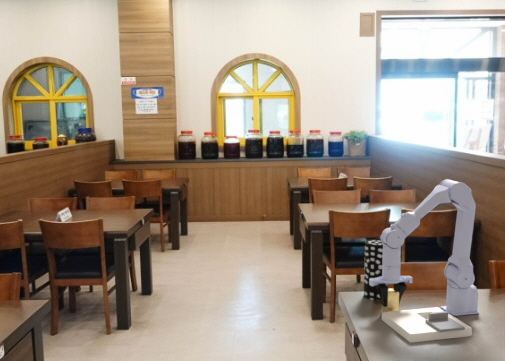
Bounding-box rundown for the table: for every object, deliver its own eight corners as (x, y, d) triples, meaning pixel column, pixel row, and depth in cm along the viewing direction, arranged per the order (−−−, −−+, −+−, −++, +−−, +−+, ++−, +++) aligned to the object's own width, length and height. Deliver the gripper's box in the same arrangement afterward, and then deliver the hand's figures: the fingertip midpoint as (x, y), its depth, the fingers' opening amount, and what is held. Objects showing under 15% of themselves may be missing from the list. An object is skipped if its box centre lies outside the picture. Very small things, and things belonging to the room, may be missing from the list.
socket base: (437, 314, 176) (437, 307, 176) (471, 335, 159) (471, 327, 158) (381, 319, 172) (381, 312, 171) (410, 342, 154) (410, 334, 154)
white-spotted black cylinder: (383, 302, 188) (384, 246, 186) (360, 297, 192) (361, 243, 190) (390, 295, 195) (391, 241, 193) (368, 291, 199) (369, 238, 197)
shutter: (449, 319, 164) (449, 310, 164) (464, 329, 157) (465, 320, 156) (425, 322, 163) (425, 313, 162) (440, 332, 155) (440, 322, 155)
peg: (392, 311, 179) (393, 288, 178) (398, 315, 175) (399, 292, 174) (381, 312, 178) (382, 289, 177) (387, 316, 174) (387, 292, 173)
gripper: (405, 260, 180) (404, 299, 182) (365, 263, 177) (364, 302, 179) (416, 265, 173) (415, 306, 175) (374, 269, 170) (374, 310, 172)
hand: (390, 305), depth 176 cm, fingers closed on peg, 4 cm apart
